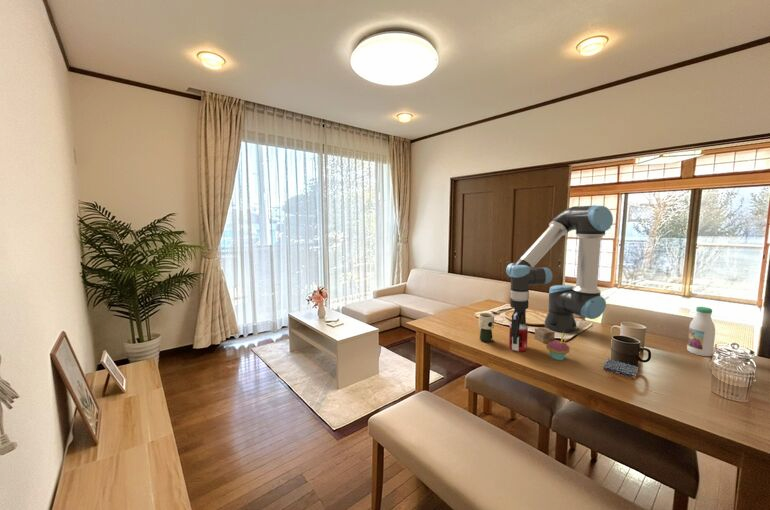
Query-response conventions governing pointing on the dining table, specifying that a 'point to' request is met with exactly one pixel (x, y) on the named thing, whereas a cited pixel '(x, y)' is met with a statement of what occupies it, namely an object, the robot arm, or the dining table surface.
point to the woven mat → (621, 368)
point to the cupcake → (558, 349)
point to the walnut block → (544, 335)
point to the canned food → (520, 337)
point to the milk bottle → (701, 333)
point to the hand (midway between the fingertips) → (518, 346)
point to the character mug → (486, 326)
